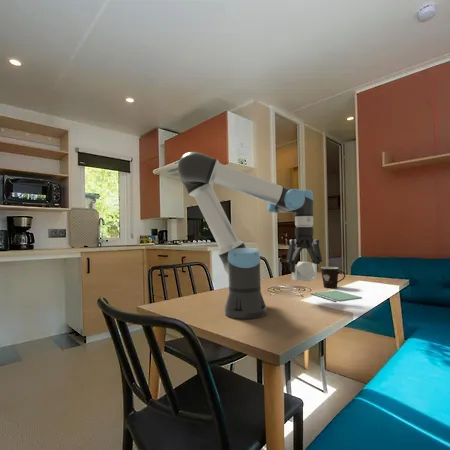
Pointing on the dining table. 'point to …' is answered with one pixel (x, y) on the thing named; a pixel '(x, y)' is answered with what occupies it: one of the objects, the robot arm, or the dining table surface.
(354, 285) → the dining table surface
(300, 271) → the die
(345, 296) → the mat
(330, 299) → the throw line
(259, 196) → the robot arm
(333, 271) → the coffee mug
